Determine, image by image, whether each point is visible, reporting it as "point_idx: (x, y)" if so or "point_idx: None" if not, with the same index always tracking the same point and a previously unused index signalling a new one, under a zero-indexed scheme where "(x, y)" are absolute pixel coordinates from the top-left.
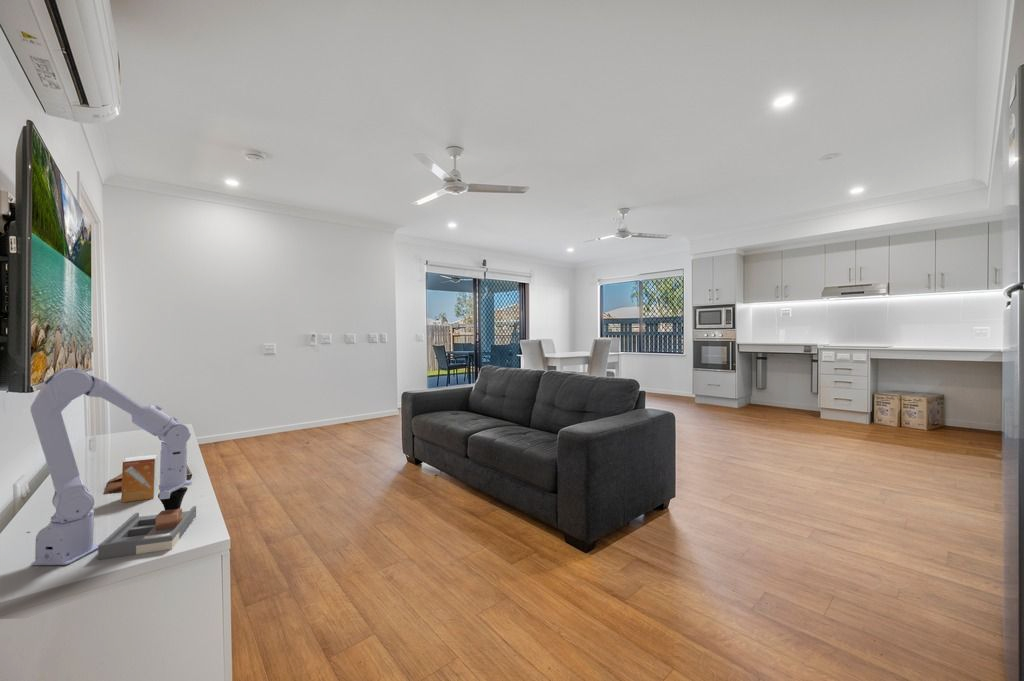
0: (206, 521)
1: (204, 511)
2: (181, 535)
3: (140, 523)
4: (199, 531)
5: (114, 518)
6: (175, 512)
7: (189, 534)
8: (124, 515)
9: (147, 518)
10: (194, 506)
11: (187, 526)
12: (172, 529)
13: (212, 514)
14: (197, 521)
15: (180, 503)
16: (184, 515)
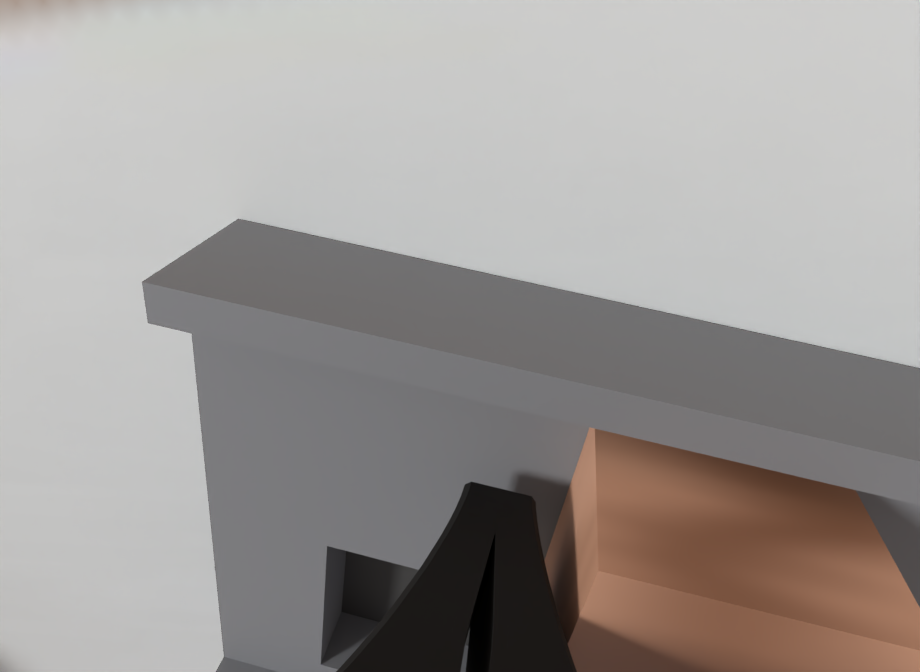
0: (474, 83)
1: (43, 125)
2: (900, 370)
3: (330, 629)
4: (881, 166)
5: (89, 668)
6: (783, 656)
7: (894, 283)
8: (43, 634)
9: (294, 624)
10: (153, 303)
11: (630, 317)
12: (868, 507)
13: (191, 7)
14: (409, 199)
15: (463, 636)
16: (355, 381)
